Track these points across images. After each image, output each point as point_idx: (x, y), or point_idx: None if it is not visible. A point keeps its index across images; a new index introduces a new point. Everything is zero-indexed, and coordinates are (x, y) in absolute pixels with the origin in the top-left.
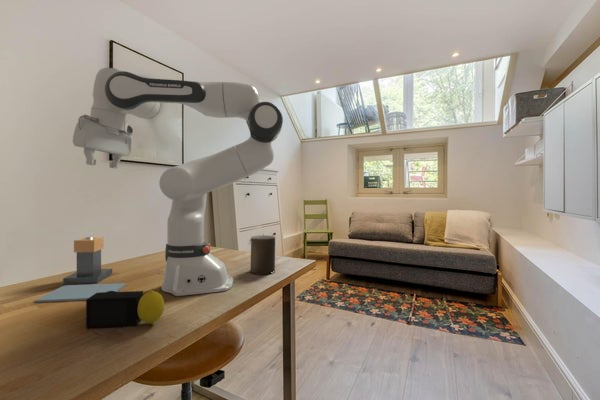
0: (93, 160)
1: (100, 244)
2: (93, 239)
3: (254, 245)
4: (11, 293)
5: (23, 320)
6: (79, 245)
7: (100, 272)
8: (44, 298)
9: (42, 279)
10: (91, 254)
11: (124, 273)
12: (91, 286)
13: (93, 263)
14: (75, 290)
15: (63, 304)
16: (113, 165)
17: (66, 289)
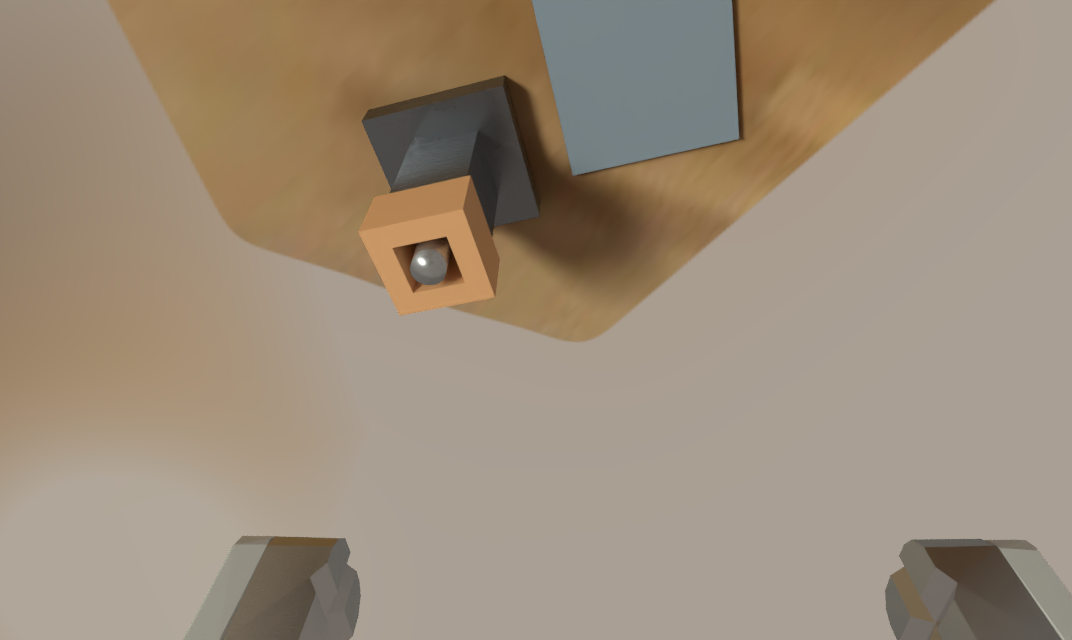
0: (1059, 622)
1: (399, 205)
2: (439, 231)
3: None
4: (644, 283)
5: (911, 20)
6: (489, 258)
7: (432, 130)
8: (722, 120)
9: (499, 314)
10: None
11: (338, 55)
12: (575, 47)
13: (470, 155)
14: (630, 76)
15: (766, 5)
16: (320, 598)
17: (620, 124)
